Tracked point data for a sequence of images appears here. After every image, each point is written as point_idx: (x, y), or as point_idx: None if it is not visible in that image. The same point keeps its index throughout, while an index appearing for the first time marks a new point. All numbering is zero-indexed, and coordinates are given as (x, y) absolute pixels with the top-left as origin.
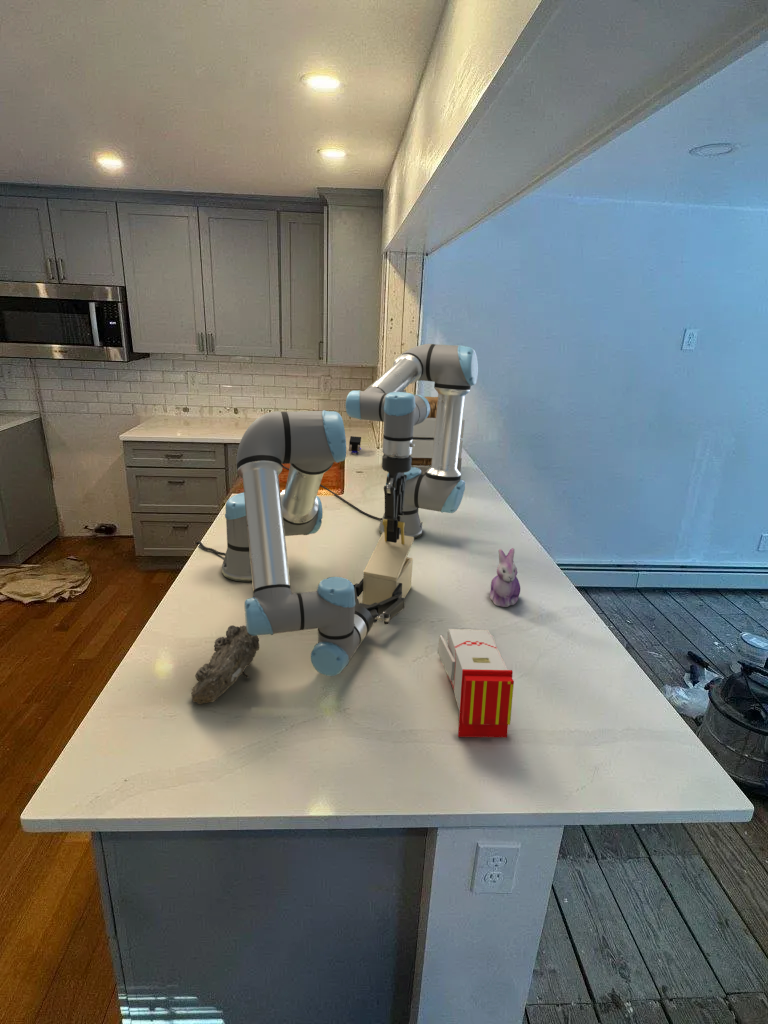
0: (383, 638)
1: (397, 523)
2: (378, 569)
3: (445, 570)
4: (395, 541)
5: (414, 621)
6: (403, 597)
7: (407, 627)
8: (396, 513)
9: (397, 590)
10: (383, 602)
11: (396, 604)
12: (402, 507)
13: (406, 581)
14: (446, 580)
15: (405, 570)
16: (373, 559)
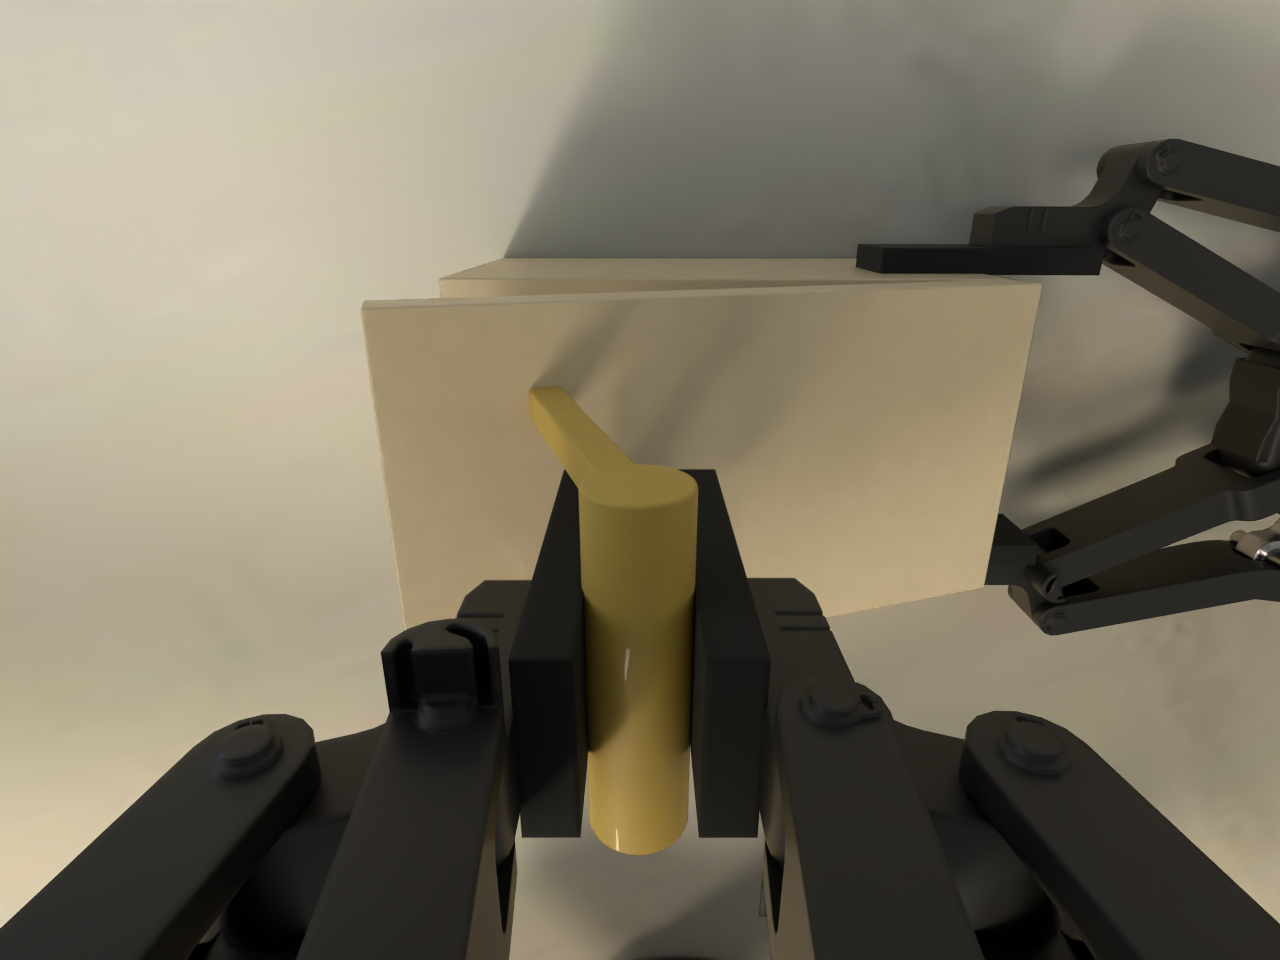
0: (1204, 236)
1: (722, 607)
2: (954, 485)
3: (73, 63)
4: (715, 482)
5: (958, 96)
6: (696, 259)
7: (1047, 122)
8: (866, 802)
9: (1029, 248)
10: (1252, 298)
11: (1274, 183)
12: (237, 784)
13: (638, 266)
14: (242, 9)
15: (703, 276)
16: (841, 582)
